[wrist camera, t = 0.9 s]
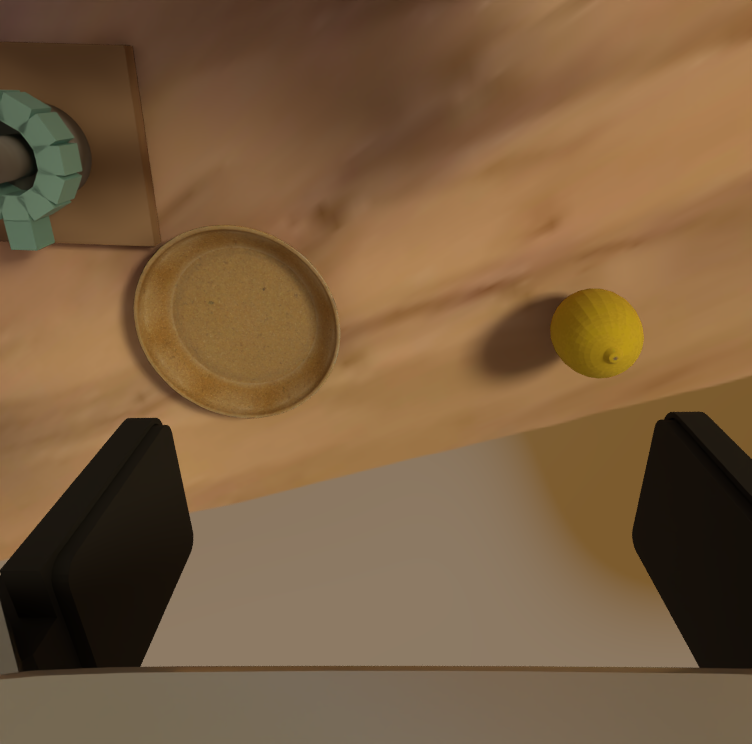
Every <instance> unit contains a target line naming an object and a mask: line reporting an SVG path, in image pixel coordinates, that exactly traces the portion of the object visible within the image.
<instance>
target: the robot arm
mask: <svg viewBox="0 0 752 744" xmlns="http://www.w3.org/2000/svg"><path fill="white" fill-rule="evenodd" d="M632 538H633V544H634V548H635V550H636V552H637V554H638V555H639V557H640V559H641V561H642V563H643V565H644V566H645V568H646V570H647V572H648V574H649V576H650V577H651V579H652V581H653V583H654V585H655V587H656V589H657V590H658V592H659V594H660V596H661V598H662V599H663V601H664V603H665V605H666V607H667V609H668V610H669V612H670V614H671V616H672V618H673V620H674V621H675V623H676V625H677V627H678V629H679V630H680V632H681V634H682V636H683V638H684V640H685V642H686V643H687V645H688V647H689V649H690V650H691V652H692V654H693V656H694V658H695V660H696V662H697V664H698V665H699V667H700V668H677V667H676V668H675V667H674V668H673V667H671V668H670V667H665V668H664V667H554V666H548V667H547V666H546V667H545V666H175V667H173V666H172V667H140V666H141V664H142V662H143V659H144V657H145V655H146V652H147V650H148V648H149V646H150V643H151V641H152V639H153V637H154V634H155V632H156V630H157V628H158V625H159V623H160V621H161V619H162V616H163V614H164V611H165V609H166V607H167V605H168V603H169V600H170V598H171V596H172V594H173V591H174V589H175V587H176V584H177V582H178V580H179V578H180V575H181V573H182V571H183V569H184V566H185V564H186V562H187V559H188V557H189V555H190V553H191V550H192V546H193V530H192V525H191V521H190V516H189V511H188V507H187V502H186V497H185V492H184V488H183V483H182V478H181V473H180V469H179V464H178V459H177V454H176V450H175V445H174V440H173V435H172V431H171V429H170V427H169V426H168V425H162V423H161V421H160V419H158V418H128V419H126V420H125V421H124V422H123V423H122V424H121V425H120V426H119V428H118V429H117V430H116V431H115V432H114V434H113V435H112V436H111V437H110V438H109V440H108V441H107V442H106V443H105V444H104V446H103V447H102V448H101V449H100V450H99V452H98V453H97V454H96V455H95V457H94V458H93V459H92V460H91V461H90V463H89V464H88V465H87V466H86V467H85V469H84V470H83V471H82V472H81V473H80V475H79V476H78V477H77V478H76V479H75V481H74V482H73V483H72V484H71V485H70V487H69V488H68V489H67V490H66V491H65V493H64V494H63V495H62V496H61V497H60V499H59V500H58V501H57V502H56V503H55V505H54V506H53V507H52V508H51V509H50V511H49V512H48V513H47V514H46V516H45V517H44V518H43V519H42V520H41V522H40V523H39V524H38V525H37V526H36V528H35V529H34V530H33V531H32V532H31V534H30V535H29V536H28V537H27V538H26V540H25V541H24V542H23V543H22V544H21V546H20V547H19V548H18V549H17V550H16V552H15V553H14V554H13V555H12V556H11V558H10V559H9V560H8V561H7V562H6V564H5V565H4V566H3V567H2V568H1V570H0V573H1V575H0V744H752V459H751V458H750V457H749V456H748V455H747V454H746V453H745V452H744V451H743V450H742V449H741V448H740V447H739V446H738V445H737V444H736V443H735V442H734V441H733V440H732V439H731V438H730V437H729V436H728V435H727V434H726V433H725V432H723V430H722V429H721V428H719V426H717V424H715V423H714V421H713V420H712V419H711V418H709V417H708V416H707V415H706V414H705V413H703V412H670V413H668V414H667V415H666V417H665V419H664V420H659V421H657V423H656V425H655V428H654V433H653V438H652V442H651V447H650V452H649V456H648V461H647V465H646V470H645V475H644V479H643V484H642V489H641V493H640V498H639V502H638V507H637V512H636V517H635V521H634V526H633V532H632Z"/></svg>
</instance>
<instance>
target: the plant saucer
mask: <svg viewBox="0 0 752 744" xmlns="http://www.w3.org/2000/svg"><path fill="white" fill-rule="evenodd" d="M134 321H135V328H136V331H137V336H138V339H139V342H140V345H141V347H142V349H143V351H144V353H145V355H146V357H147V359H148V361H149V362H150V364H151V365H152V367H153V368H154V369H155V371H156V372H157V373H158V374H159V375H160V376H161V378H162V379H163V380H164V381H165V382H166V383H167V384H168V385H169V386H170V387H171V388H172V389H173V390H175V391H176V392H177V393H178V394H180V395H181V396H183V397H184V398H186V399H187V400H189V401H191V402H193V403H194V404H196V405H198V406H200V407H202V408H204V409H207V410H209V411H212V412H215V413H218V414H222V415H227V416H231V417H238V418H262V417H268V416H273V415H278V414H280V413H284V412H287V411H289V410H291V409H294V408H295V407H297V406H299V405H301V404H302V403H304V402H305V401H307V400H308V399H309V398H311V396H313V395H314V394H315V393H316V392H317V391H318V390H319V389H320V388H321V387H322V385H323V384H324V383H325V381H326V380H327V378H328V377H329V375H330V373H331V371H332V369H333V367H334V365H335V362H336V359H337V356H338V351H339V344H340V323H339V316H338V312H337V308H336V304H335V302H334V299H333V297H332V294H331V292H330V290H329V288H328V286H327V284H326V283H325V281H324V279H323V278H322V276H321V275H320V274H319V272H318V271H317V270H316V269H315V267H314V266H313V265H312V264H311V263H310V262H309V261H308V260H307V259H306V258H305V257H304V256H303V255H302V254H300V253H299V252H298V251H297V250H295V249H294V248H293V247H291V246H290V245H288V244H287V243H285V242H283V241H282V240H280V239H278V238H276V237H274V236H272V235H269V234H267V233H264V232H261V231H258V230H255V229H251V228H247V227H241V226H232V225H216V226H207V227H202V228H197V229H194V230H190V231H188V232H185V233H183V234H181V235H179V236H177V237H175V238H173V239H172V240H170V241H169V242H167V243H166V244H165V245H163V246H162V247H161V248H160V249H159V250H158V251H157V252H156V253H155V254H154V255H153V256H152V258H151V259H150V260H149V261H148V263H147V264H146V266H145V267H144V270H143V272H142V274H141V276H140V279H139V282H138V284H137V288H136V291H135V298H134Z"/></svg>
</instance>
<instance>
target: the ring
mask: <svg viewBox="0 0 752 744" xmlns="http://www.w3.org/2000/svg"><path fill="white" fill-rule="evenodd" d="M0 121H2V122H3V123H5V124H7V125H9V126H10V127H12V128H14V129H16V130H17V131H19V132H20V133H21V134H22V136H23V137H24V138H25V140H26V141H27V142H28V144H29V145H30V146H31V147H32V149H33V150H34V155H35V159H36V163H37V167H38V172H37V175H36V179H35V182H34V185H33V187H32V188H31V189H29V190H21V189H20V188H18V187H16V186H14V185H12V184H11V183H9V182H5V183H0V219H3V220H4V224H5V228H6V231H7V235H8V239H9V243H10V246H11V250H40V249H42V248H44V247H46V246H48V245H50V244H53V243H55V240H54V235H53V231H52V227H51V222H50V218H49V215H52V214H54V213H55V212H57V211H59V210H60V209H62V208H63V207H65V206H66V205H68V204H69V203H71V201H70V200H72V199H74V198H75V195H76V192H77V189H78V187H79V184H80V181H81V178H82V176H81V175H80V174H78V173H77V172H80V171H82V166H81V161H80V156H79V150H78V145H77V143H67V142H69V141H70V140H72V139H73V138H75V137H74V136H73V135H72V133H71V132H70V130H69V129H68V128H67V126H66V125H65V123H64V122H63V121H62V119H61V118H60V116H59V115H58V114H57V112H51V107H50V106H48V105H46V104H45V103H43V102H41V101H40V100H38V99H36V98H35V97H33V96H31V95H29V94H28V93H26V92H20V90H0Z"/></svg>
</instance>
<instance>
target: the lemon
mask: <svg viewBox="0 0 752 744" xmlns="http://www.w3.org/2000/svg"><path fill="white" fill-rule="evenodd" d="M550 332H551V340H552V343H553V346H554V349H555V351H556V353H557V354H558V355H559V357H560V358H561V359H562V361H563V362H564V363H565V364H566V365H568V366H569V367H570V368H572V369H573V370H574V371H576V372H577V373H580V374H582V375H585V376H587V377H593V378H608V377H612V376H615V375H618V374H620V373H622V372H624V371H626V370H627V369H628V368H629V367H630V366H632V365H633V363H634V362H635V361H636V360H637V358H638V357H639V354H640V352H641V350H642V346H643V340H644V336H643V328H642V324H641V321H640V319H639V317H638V315H637V313H636V311H635V310H634V308H633V307H632V306H631V305H630V304H629V303H628V302H627V301H626V300H625V299H624V298H622V297H620V296H619V295H617V294H615V293H613V292H611V291H607V290H603V289H586V290H581V291H578V292H576V293H574V294H572V295H570V296H569V297H567V298H566V299H565V300H563V301H562V302H561V304H560V305H559V306H558V307H557V309H556V311H555V313H554V315H553V317H552V321H551V326H550Z"/></svg>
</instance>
